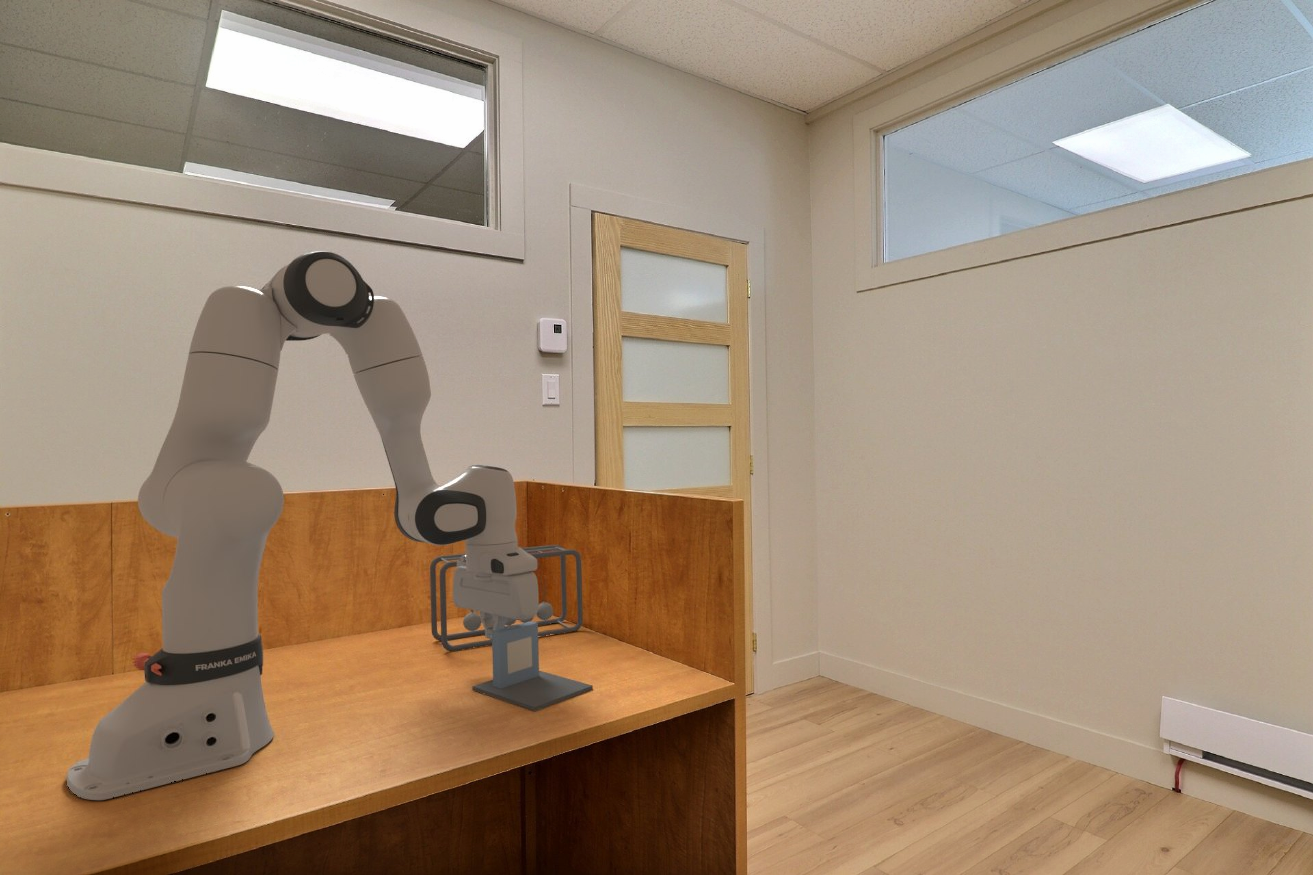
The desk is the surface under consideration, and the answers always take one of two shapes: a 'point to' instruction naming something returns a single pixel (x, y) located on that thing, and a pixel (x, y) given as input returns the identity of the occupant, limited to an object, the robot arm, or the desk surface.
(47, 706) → the desk surface
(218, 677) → the robot arm
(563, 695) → the mat
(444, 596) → the newton's cradle
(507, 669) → the tile
